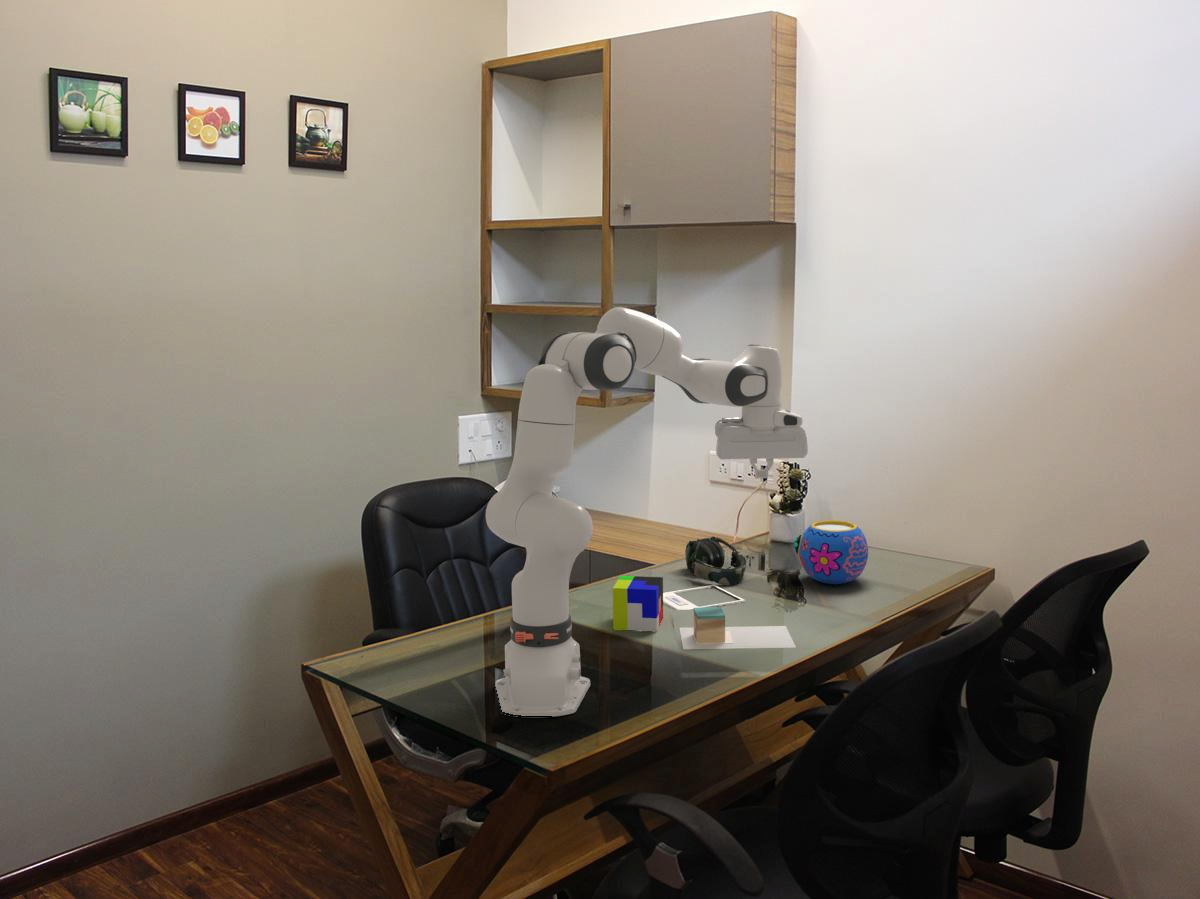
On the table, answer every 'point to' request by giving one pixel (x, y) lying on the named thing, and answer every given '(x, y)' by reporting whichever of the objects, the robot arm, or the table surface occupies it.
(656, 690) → the table surface
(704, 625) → the wood cube
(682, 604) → the photo frame
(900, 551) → the table surface
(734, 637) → the grey board
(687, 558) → the headphones
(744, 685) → the table surface
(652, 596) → the puzzle toy
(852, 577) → the ceramic pot
